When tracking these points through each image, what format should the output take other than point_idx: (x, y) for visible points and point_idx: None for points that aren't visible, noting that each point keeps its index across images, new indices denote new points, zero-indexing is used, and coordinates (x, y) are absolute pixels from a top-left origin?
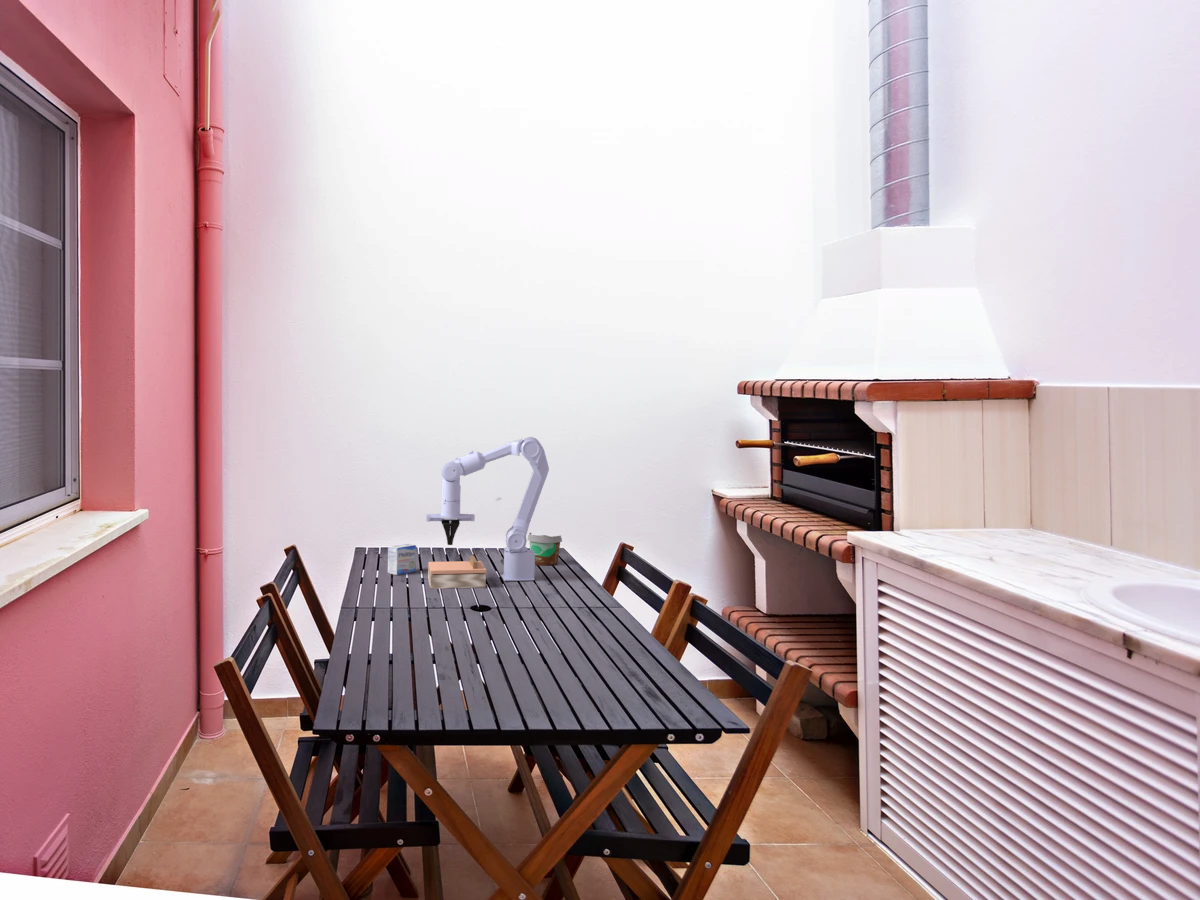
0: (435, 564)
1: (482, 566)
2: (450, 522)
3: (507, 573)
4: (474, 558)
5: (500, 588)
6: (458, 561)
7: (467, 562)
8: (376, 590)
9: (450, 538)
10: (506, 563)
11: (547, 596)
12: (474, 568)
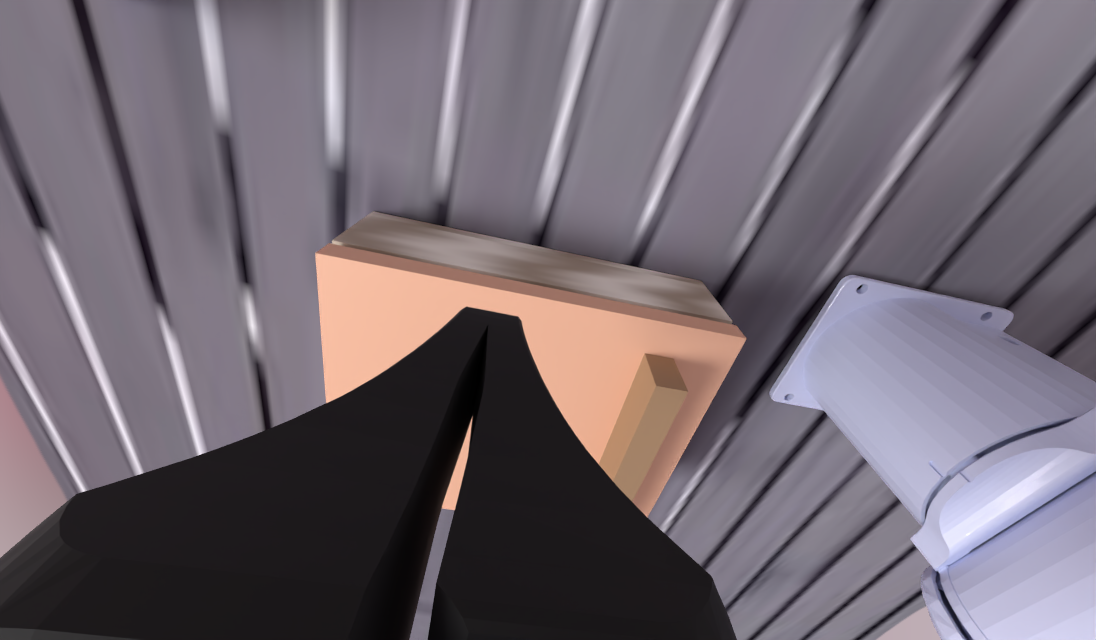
0: (371, 357)
1: (658, 477)
2: (433, 612)
3: (819, 400)
4: (639, 473)
5: (672, 482)
6: (571, 307)
7: (623, 358)
8: (104, 378)
9: (472, 425)
10: (857, 436)
11: (755, 588)
12: None
